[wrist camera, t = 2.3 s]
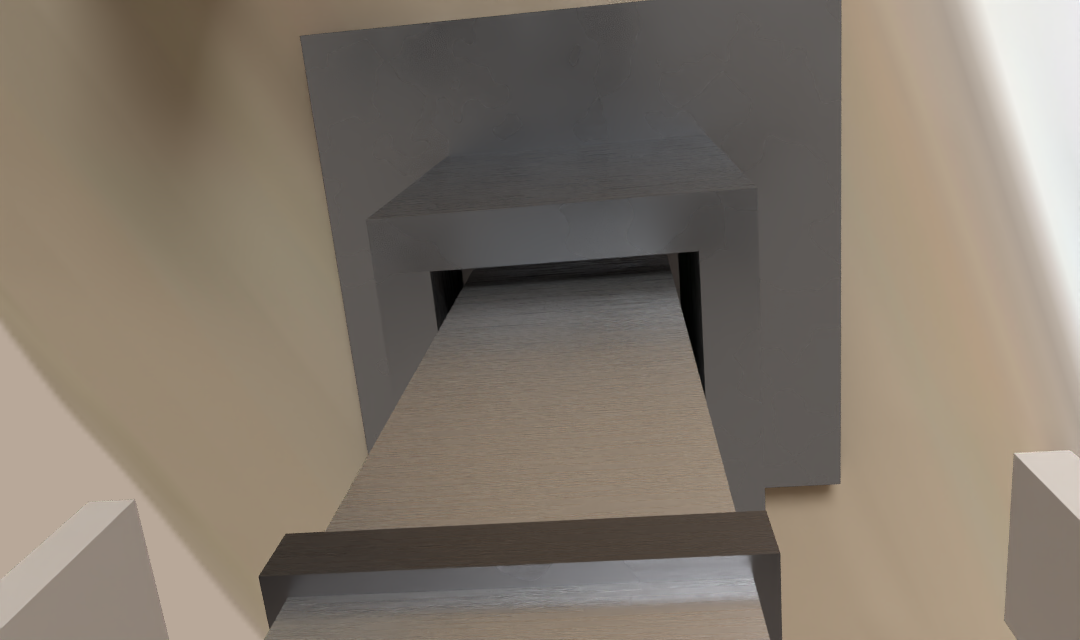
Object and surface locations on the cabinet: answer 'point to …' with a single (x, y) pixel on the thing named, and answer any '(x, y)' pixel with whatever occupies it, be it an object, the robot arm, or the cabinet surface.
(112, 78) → the cabinet surface
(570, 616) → the column
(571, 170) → the stand base
